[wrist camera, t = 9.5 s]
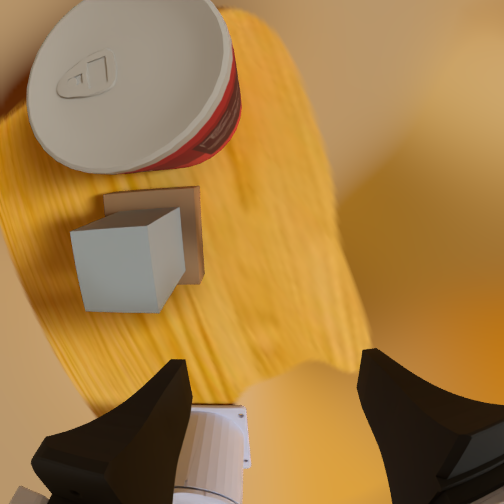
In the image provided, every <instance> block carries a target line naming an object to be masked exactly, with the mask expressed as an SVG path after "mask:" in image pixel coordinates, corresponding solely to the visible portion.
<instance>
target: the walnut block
mask: <svg viewBox="0 0 504 504" xmlns="http://www.w3.org/2000/svg"><path fill="white" fill-rule="evenodd" d="M103 198H104V210H105V217H107V216H109V215H112V214H114V213H117V212H120V211H131V210H143V209H156V208H170V207H180V218H181V230H182V241H183V251H184V261H185V270H186V271H185V272H184V274H183V276H182V277H181V279H180V280H179V282H178V284H200V283H201V281H202V279H203V276H204V274H205V272H204V258H203V243H202V226H201V207H200V186H188V187H171V188H156V189H143V190H130V191H119V192H113V193H109V194H105V195H103Z"/></svg>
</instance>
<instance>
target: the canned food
mask: <svg viewBox="0 0 504 504" xmlns="http://www.w3.org/2000/svg"><path fill="white" fill-rule="evenodd" d="M241 109H242V105H241V94H240V87H239V81H238V74H237V68H236V61H235V54H234V49H233V46H232V40H231V37H230V34H229V31H228V28H227V25H226V23H225V21H224V20H223V17H222V16H221V14H220V13H219V11H218V10H217V8H216V7H215V5H214V4H213V2H211V1H210V0H83V1H82V2H80V3H79V4H78V5H76V6H75V7H73V8H72V9H71V10H70V11H69V12H68V13H67V14H66V15H65V16H64V17H63V18H62V19H61V20H60V21H59V22H58V23H57V24H56V25H55V27H54V28H53V29H52V30H51V32H50V33H49V34H48V36H47V37H46V39H45V41H44V42H43V44H42V46H41V47H40V50H39V51H38V53H37V55H36V58H35V61H34V63H33V66H32V69H31V72H30V76H29V81H28V86H27V111H28V117H29V122H30V125H31V127H32V130H33V133H34V135H35V137H36V139H37V140H38V142H39V143H40V145H41V146H42V148H43V149H44V150H45V151H46V152H47V153H48V154H49V155H50V156H51V157H53V158H54V159H55V160H56V161H58V162H60V163H61V164H63V165H65V166H67V167H69V168H71V169H75V170H79V171H83V172H87V173H94V174H128V173H137V172H146V171H156V170H166V169H177V168H185V167H190V166H193V165H197V164H200V163H202V162H204V161H206V160H208V159H210V158H211V157H213V156H214V155H215V154H217V153H218V152H219V151H220V150H222V149H223V147H224V146H225V145H226V144H227V143H228V142H229V141H230V139H231V138H232V136H233V134H234V133H235V131H236V129H237V126H238V123H239V121H240V116H241Z"/></svg>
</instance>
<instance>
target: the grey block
mask: <svg viewBox="0 0 504 504" xmlns="http://www.w3.org/2000/svg"><path fill="white" fill-rule="evenodd" d="M70 235H71V242H72V248H73V254H74V260H75V265H76V270H77V275H78V280H79V285H80V290H81V294H82V299H83V303H84V307H85V311H91V312H123V313H160V311H161V309H162V308H163V306H164V304H165V303H166V301H167V300H168V298H169V296H170V295H171V293H172V292H173V290H174V288H175V287H176V285H177V284H178V282H179V280H180V279H181V277H182V276H183V274H184V272H185V271H186V270H185V261H184V251H183V241H182V230H181V218H180V207H170V208H156V209H143V210H131V211H120V212H117V213H114V214H112V215H109V216H107V217H104V218H102V219H99V220H97V221H94V222H92V223H89V224H87V225H85V226H82V227H80V228H77V229H75V230H73V231H70Z"/></svg>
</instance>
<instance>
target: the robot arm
mask: <svg viewBox="0 0 504 504" xmlns="http://www.w3.org/2000/svg"><path fill="white" fill-rule="evenodd" d="M357 390H358V395H359V399H360V402H361V405H362V409H363V411H364V413H365V416H366V418H367V420H368V423H369V425H370V427H371V430H372V432H373V434H374V436H375V439H376V441H377V444H378V446H379V449H380V452H381V455H382V458H383V462H384V466H385V470H386V473H387V477H388V482H389V487H390V492H391V498H392V504H504V405H497V404H489V403H484V402H480V401H475V400H471V399H468V398H464V397H461V396H458V395H456V394H452V393H450V392H448V391H445V390H443V389H441V388H439V387H437V386H434V385H432V384H431V383H429V382H427V381H425V380H423V379H422V378H420V377H418V376H417V375H415V374H413V373H412V372H410V371H409V370H407V369H406V368H404V367H403V366H401V365H400V364H398V363H397V362H395V361H394V360H393V359H391V358H390V357H389V356H387V355H386V354H384V353H383V352H381V351H380V350H378V349H377V348H374V349H366V350H363V351H362V358H361V364H360V371H359V377H358V383H357ZM192 398H193V396H192V391H191V386H190V381H189V376H188V371H187V366H186V361H185V360H182V359H171V360H170V361H169V362H168V363H167V364H166V365H165V366H164V367H163V368H162V369H161V370H160V371H159V372H158V373H157V374H156V375H155V376H154V377H153V378H151V379H150V380H149V381H148V382H147V383H146V384H145V385H144V386H143V387H142V388H141V389H139V390H138V391H137V392H136V393H135V394H134V395H132V396H131V397H130V398H129V399H127V400H126V401H125V402H123V403H122V404H121V405H119V406H118V407H116V408H115V409H113V410H111V411H110V412H108V413H106V414H104V415H103V416H101V417H99V418H97V419H95V420H93V421H91V422H89V423H87V424H85V425H82V426H80V427H77V428H75V429H72V430H69V431H66V432H62V433H59V434H55V435H51V436H47V437H46V438H45V439H44V440H43V442H42V444H41V445H40V447H39V448H38V450H37V452H36V453H35V455H34V456H33V458H32V460H31V465H32V467H33V470H34V472H35V473H36V475H37V476H38V477H39V478H40V480H41V481H42V482H43V483H44V485H46V487H47V488H48V489H49V491H50V492H51V493H52V495H51V497H50V499H48V498H46V497H45V496H43V495H41V494H39V493H36V492H34V491H32V490H30V489H27V488H25V487H23V486H19V487H18V489H17V491H16V493H15V494H14V496H13V498H12V500H11V501H10V503H9V504H242V493H243V468H250V467H251V457H250V446H249V436H248V425H247V414H246V413H247V412H246V408H245V407H244V406H242V405H192ZM239 414H243V415H239Z"/></svg>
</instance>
